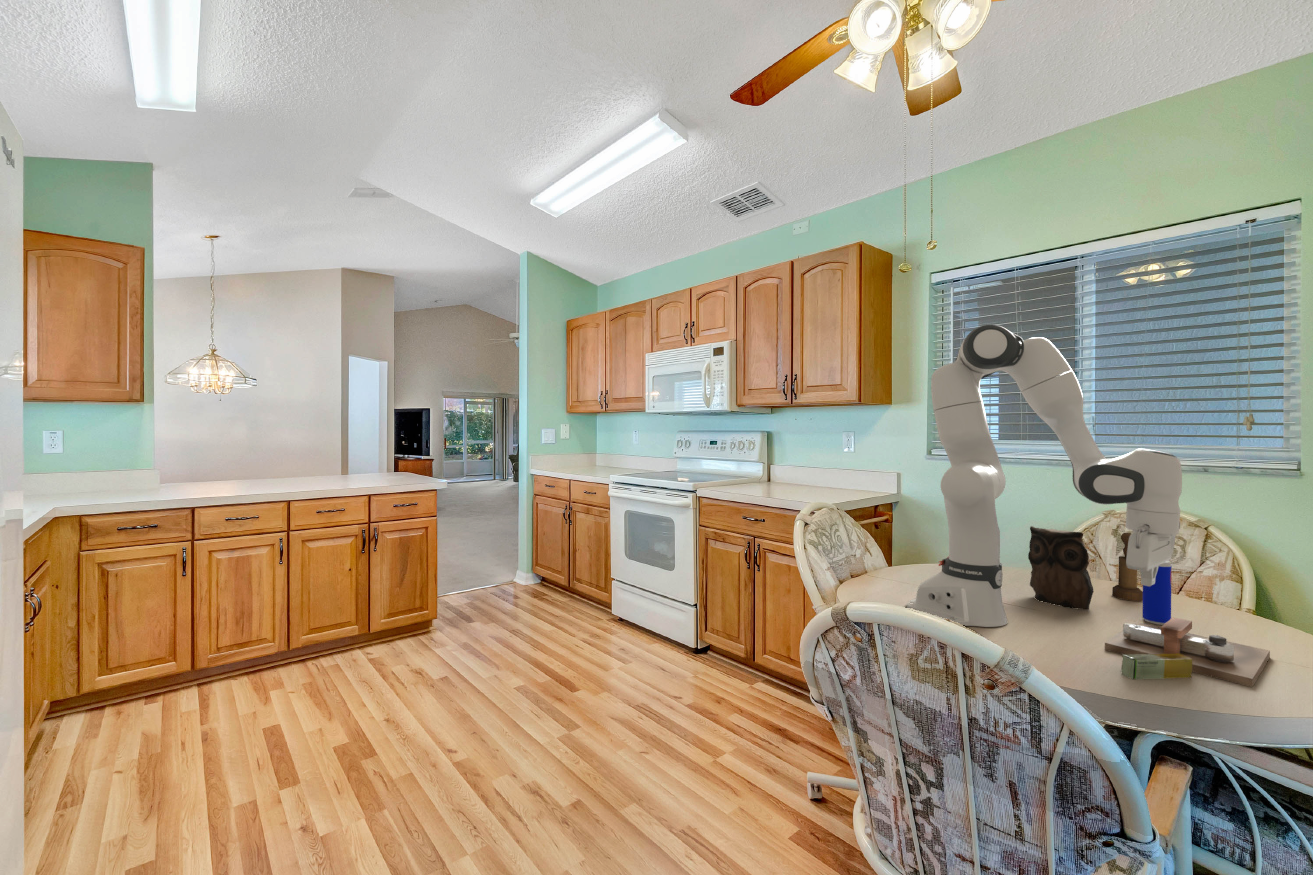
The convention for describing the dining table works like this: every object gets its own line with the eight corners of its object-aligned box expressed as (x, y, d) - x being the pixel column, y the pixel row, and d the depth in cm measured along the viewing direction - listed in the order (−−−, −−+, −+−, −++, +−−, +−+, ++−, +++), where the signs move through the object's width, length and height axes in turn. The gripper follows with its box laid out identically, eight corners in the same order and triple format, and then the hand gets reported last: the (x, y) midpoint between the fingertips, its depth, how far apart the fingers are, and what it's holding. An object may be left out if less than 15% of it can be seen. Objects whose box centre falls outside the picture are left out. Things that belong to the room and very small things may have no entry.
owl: (1095, 611, 143) (1096, 533, 142) (1037, 606, 147) (1037, 530, 147) (1077, 597, 155) (1077, 525, 154) (1024, 593, 159) (1024, 523, 159)
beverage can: (1176, 626, 132) (1177, 563, 132) (1151, 624, 133) (1151, 562, 133) (1161, 618, 137) (1162, 558, 137) (1137, 617, 138) (1137, 557, 138)
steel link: (1235, 657, 109) (1235, 644, 109) (1231, 663, 106) (1232, 650, 106) (1126, 633, 122) (1126, 621, 122) (1120, 637, 120) (1120, 626, 120)
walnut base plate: (1104, 649, 118) (1105, 617, 118) (1134, 627, 131) (1134, 599, 131) (1252, 687, 101) (1252, 649, 101) (1269, 657, 114) (1270, 624, 114)
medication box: (1133, 680, 104) (1133, 659, 104) (1120, 674, 107) (1120, 653, 107) (1193, 679, 105) (1193, 658, 105) (1178, 672, 108) (1179, 651, 108)
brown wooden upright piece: (1149, 601, 151) (1150, 535, 151) (1125, 601, 151) (1126, 535, 151) (1129, 594, 158) (1129, 530, 157) (1106, 594, 158) (1106, 530, 158)
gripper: (1157, 530, 114) (1153, 596, 115) (1182, 521, 126) (1178, 581, 127) (1119, 524, 119) (1115, 588, 120) (1146, 516, 131) (1142, 574, 132)
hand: (1147, 584), depth 124 cm, fingers closed
